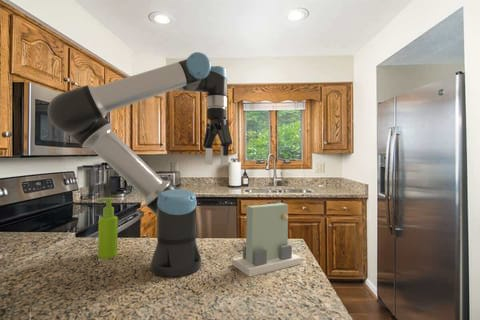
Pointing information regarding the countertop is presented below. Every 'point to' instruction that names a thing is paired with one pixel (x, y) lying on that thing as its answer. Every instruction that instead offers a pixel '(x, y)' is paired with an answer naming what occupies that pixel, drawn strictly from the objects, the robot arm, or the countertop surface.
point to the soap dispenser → (107, 231)
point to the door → (266, 229)
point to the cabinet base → (262, 264)
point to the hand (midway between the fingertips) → (216, 164)
